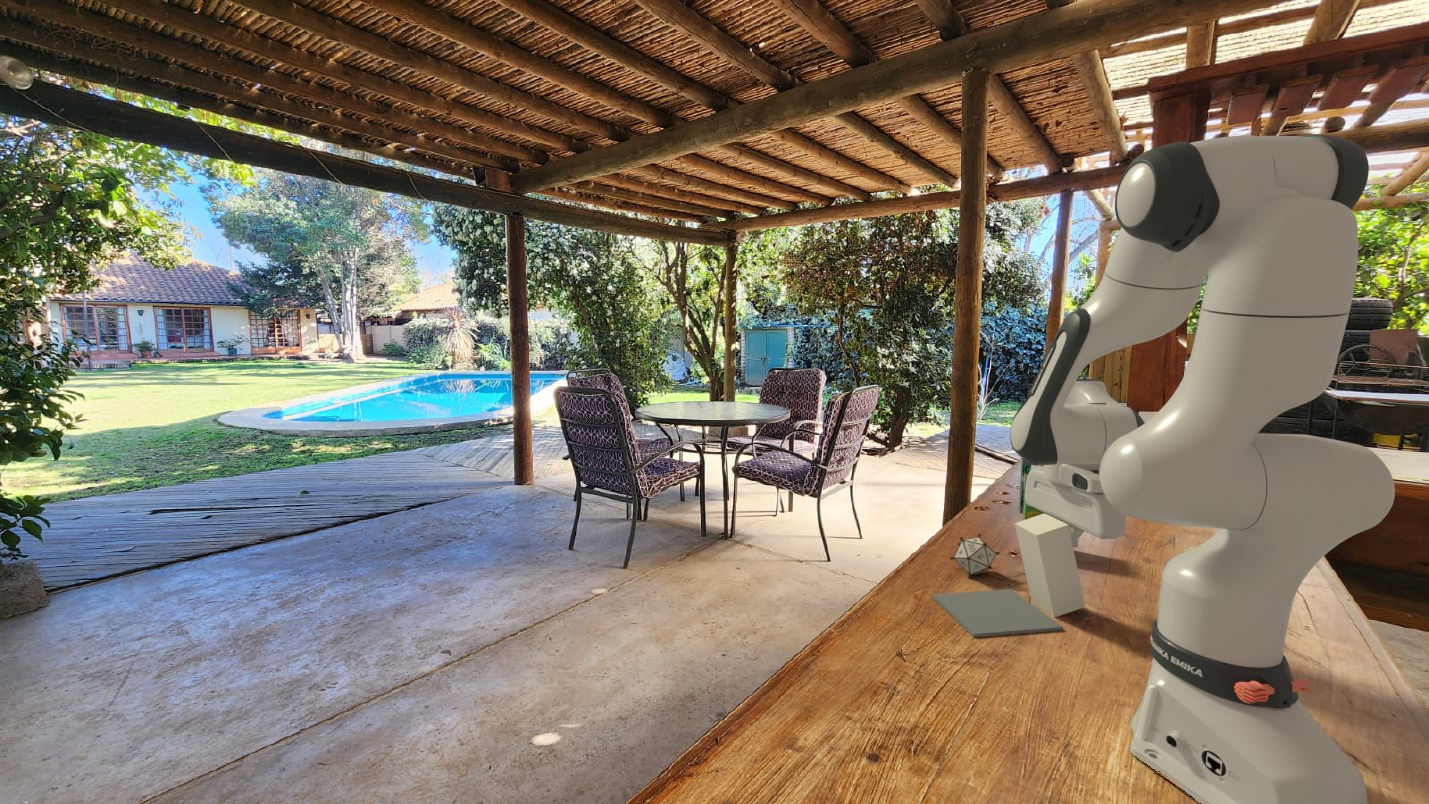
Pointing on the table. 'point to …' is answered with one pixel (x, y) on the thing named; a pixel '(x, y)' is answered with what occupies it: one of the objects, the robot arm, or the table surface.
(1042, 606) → the cream block
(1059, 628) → the rubber mat
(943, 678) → the table surface
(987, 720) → the table surface
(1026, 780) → the table surface
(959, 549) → the game die
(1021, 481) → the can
